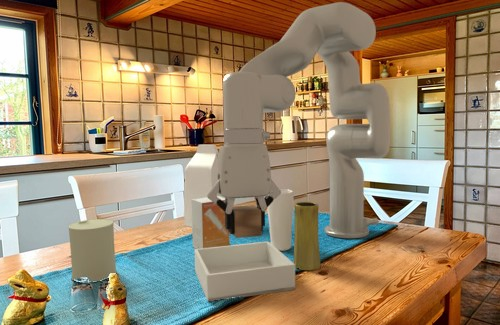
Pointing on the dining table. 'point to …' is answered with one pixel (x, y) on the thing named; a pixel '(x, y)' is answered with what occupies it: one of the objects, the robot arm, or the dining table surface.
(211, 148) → the milk
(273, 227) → the drinking glass
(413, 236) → the dining table surface
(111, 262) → the can
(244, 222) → the walnut cube
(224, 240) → the small box
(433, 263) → the dining table surface
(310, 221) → the vase
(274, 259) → the box
